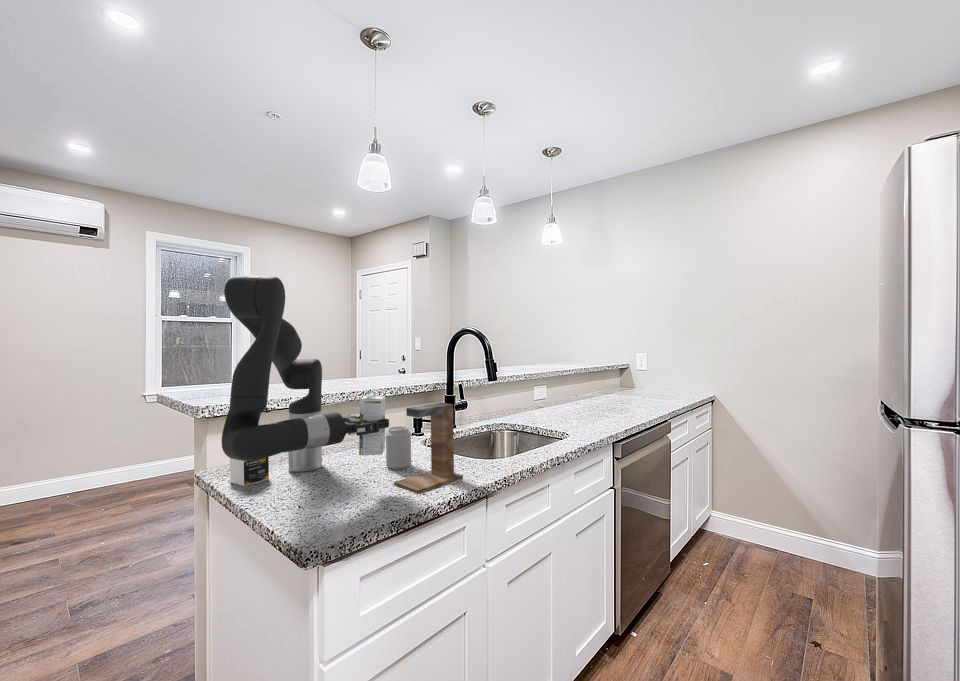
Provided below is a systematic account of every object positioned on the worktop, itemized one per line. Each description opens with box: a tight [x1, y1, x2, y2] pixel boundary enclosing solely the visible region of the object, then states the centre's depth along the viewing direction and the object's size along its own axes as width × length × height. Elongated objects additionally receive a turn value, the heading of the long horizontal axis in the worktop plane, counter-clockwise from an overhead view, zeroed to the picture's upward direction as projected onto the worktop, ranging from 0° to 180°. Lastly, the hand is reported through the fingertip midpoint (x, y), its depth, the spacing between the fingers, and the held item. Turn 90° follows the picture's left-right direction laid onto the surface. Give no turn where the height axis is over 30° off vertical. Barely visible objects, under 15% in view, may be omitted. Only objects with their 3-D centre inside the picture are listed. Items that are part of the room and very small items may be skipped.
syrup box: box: [358, 395, 386, 456], centre depth 112 cm, size 6×6×14 cm
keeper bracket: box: [393, 402, 464, 494], centre depth 118 cm, size 16×10×20 cm, turn 138°
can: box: [385, 425, 412, 471], centre depth 132 cm, size 8×8×12 cm
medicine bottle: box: [229, 457, 270, 487], centre depth 120 cm, size 7×7×12 cm
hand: (378, 420), depth 114 cm, fingers closed on syrup box, 8 cm apart
